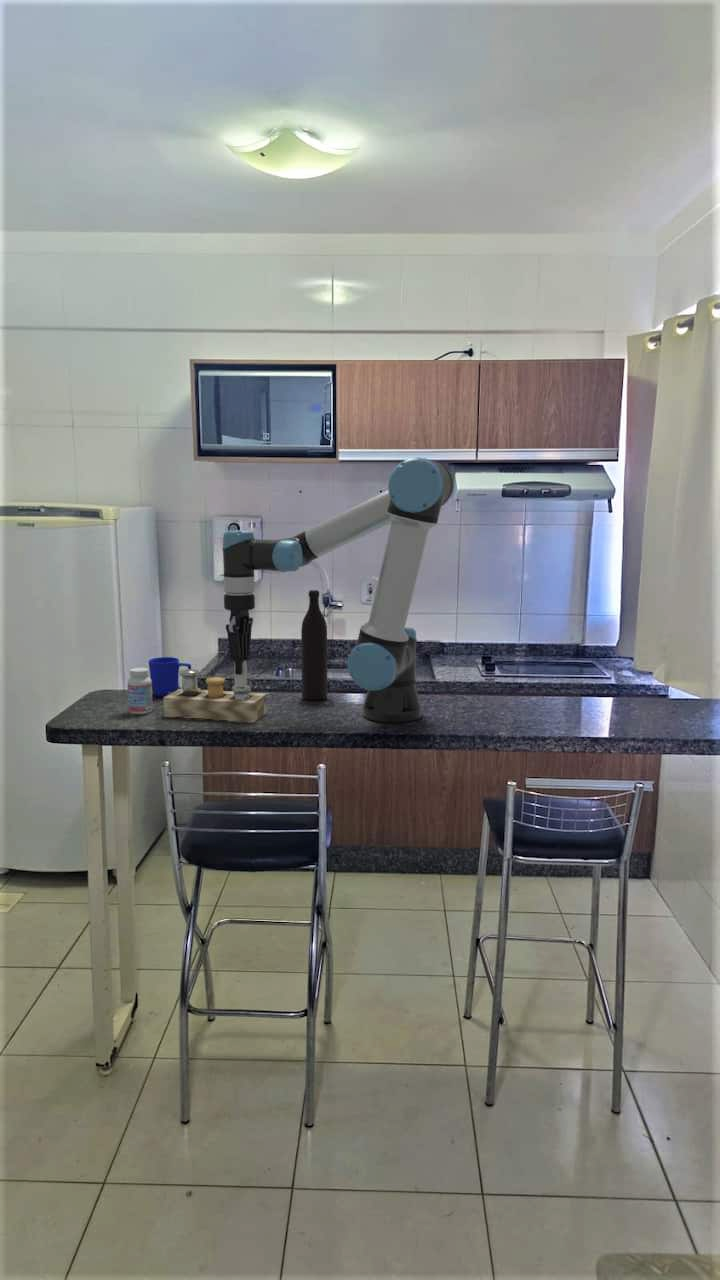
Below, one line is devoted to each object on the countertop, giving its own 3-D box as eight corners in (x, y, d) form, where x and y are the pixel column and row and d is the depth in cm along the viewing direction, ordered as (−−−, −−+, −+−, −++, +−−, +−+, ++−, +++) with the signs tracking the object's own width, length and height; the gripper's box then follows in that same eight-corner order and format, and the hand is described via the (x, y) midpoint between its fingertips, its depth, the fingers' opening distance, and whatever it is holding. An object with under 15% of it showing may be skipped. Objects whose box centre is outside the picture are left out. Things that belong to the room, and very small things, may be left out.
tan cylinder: (228, 702, 206) (227, 677, 205) (221, 707, 201) (220, 682, 200) (210, 701, 207) (210, 676, 206) (203, 706, 202) (202, 680, 201)
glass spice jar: (254, 710, 205) (253, 685, 203) (247, 715, 200) (247, 689, 199) (236, 709, 206) (235, 684, 204) (229, 714, 201) (228, 688, 200)
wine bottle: (328, 695, 225) (327, 589, 219) (326, 701, 218) (326, 592, 212) (303, 694, 225) (302, 589, 220) (300, 701, 218) (299, 592, 213)
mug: (185, 699, 219) (184, 664, 217) (144, 697, 221) (143, 662, 220) (197, 692, 227) (196, 658, 225) (158, 690, 229) (156, 656, 227)
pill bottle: (124, 714, 205) (122, 671, 203) (136, 708, 210) (134, 666, 208) (145, 715, 203) (143, 672, 201) (157, 709, 209) (155, 667, 207)
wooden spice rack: (267, 712, 207) (266, 693, 206) (253, 722, 197) (253, 703, 196) (181, 706, 212) (180, 688, 211) (164, 716, 202) (163, 697, 201)
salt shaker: (202, 694, 207) (201, 669, 206) (195, 699, 202) (194, 673, 201) (185, 693, 208) (184, 668, 207) (177, 697, 203) (176, 672, 202)
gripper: (234, 589, 204) (236, 679, 209) (214, 595, 192) (216, 691, 196) (262, 590, 203) (263, 681, 207) (244, 597, 190) (245, 693, 195)
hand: (240, 686), depth 202 cm, fingers closed
